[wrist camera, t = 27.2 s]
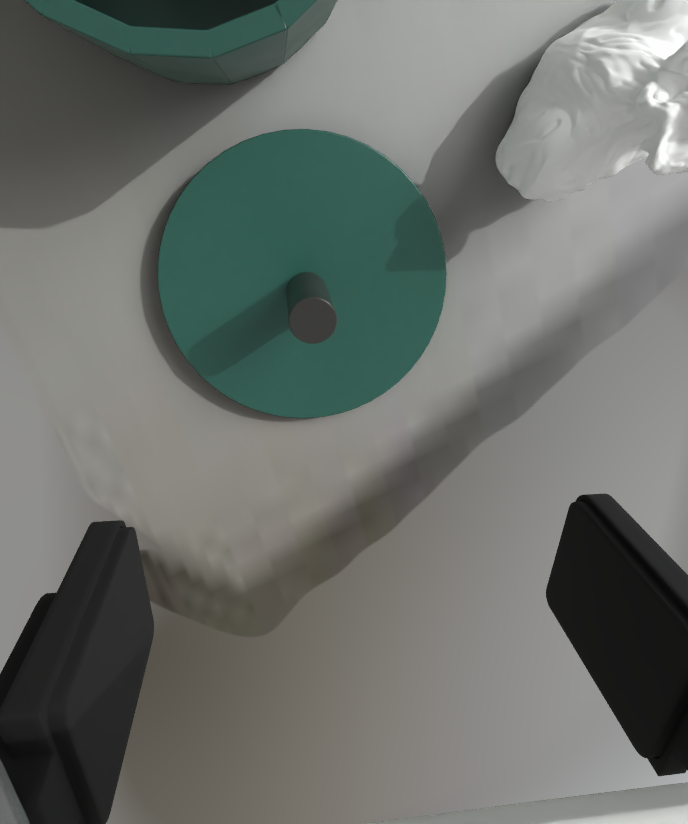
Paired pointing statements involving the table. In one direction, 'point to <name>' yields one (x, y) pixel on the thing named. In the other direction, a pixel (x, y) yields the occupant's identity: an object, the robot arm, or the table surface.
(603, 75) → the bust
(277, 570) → the table surface
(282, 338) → the lid
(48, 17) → the pot
